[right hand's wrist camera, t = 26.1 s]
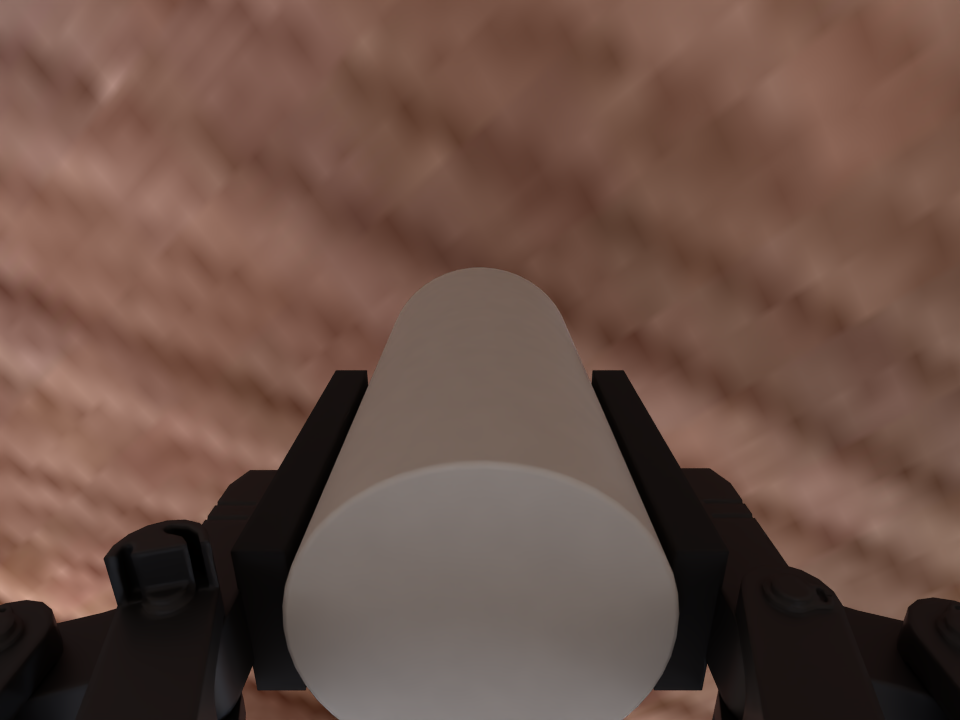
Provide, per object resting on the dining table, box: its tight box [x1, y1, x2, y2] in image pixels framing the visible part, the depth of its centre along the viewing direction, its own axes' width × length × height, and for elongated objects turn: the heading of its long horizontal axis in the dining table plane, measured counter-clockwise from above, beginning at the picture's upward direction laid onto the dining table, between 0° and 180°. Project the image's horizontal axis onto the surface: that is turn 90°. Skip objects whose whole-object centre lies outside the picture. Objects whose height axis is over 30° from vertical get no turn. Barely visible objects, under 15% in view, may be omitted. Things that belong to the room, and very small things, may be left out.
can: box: [282, 267, 679, 720], centre depth 13 cm, size 6×6×11 cm
